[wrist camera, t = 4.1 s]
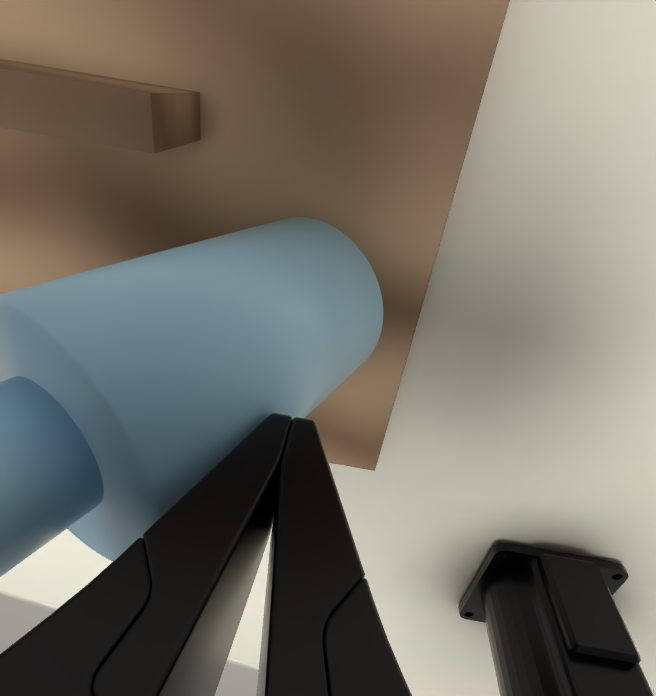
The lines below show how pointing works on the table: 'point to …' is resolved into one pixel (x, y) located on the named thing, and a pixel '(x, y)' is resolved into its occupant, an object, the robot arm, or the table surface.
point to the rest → (243, 144)
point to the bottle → (167, 373)
